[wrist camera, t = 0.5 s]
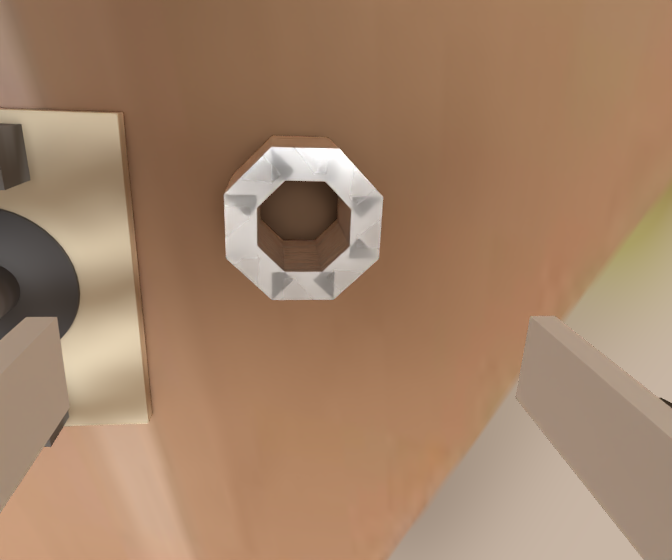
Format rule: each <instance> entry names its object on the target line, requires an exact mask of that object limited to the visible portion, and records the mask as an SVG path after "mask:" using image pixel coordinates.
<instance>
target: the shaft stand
mask: <svg viewBox="0 0 672 560" xmlns="http://www.w3.org/2000/svg"><path fill="white" fill-rule="evenodd" d="M26 317H57V320H58V327H59V334H60V341H61V348H62V355H63V362H64V370H65V377H66V384H67V391H68V398H69V405H70V408H69V409H68V411H67V412H66V414H65V415H64V417H63V418H62V420H61V422H60V423H59V425H58V426H57V428H56V429H55V431H54V432H53V434H52V435H51V437H50V438H49V440H48V441H47V443H46V444H45V446H44V447H51V446H52V444H53V443H54V441H55V439H56V438H57V436H58V435H59V433H60V431H61V430H62V428H63V426H88V425H120V424H149V421H150V418H151V415H152V405H151V394H150V384H149V374H148V364H147V353H146V343H145V333H144V322H143V312H142V302H141V292H140V281H139V271H138V261H137V250H136V240H135V230H134V220H133V209H132V199H131V189H130V178H129V168H128V158H127V148H126V137H125V127H124V117H123V112H94V111H65V110H36V109H7V108H0V340H1V339H2V338H3V337H4V336H5V335H6V334H8V333H9V332H10V331H11V330H12V329H13V328H14V327H15V326H17V325H18V324H19V323H20V322H21V321H22V320H23V319H24V318H26Z"/></svg>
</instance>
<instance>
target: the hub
mask: <svg viewBox="0 0 672 560" xmlns="http://www.w3.org/2000/svg"><path fill="white" fill-rule="evenodd" d="M285 180H287V181H325V182H326V183H327V184H328V185H329V186H330V187H331V188H332V189H333V190H334V191H335V192H336V193H337V194H338V208H337V220H335V221H334V222H333V223H332V224H331V225H330V226H329V227H328V228H327V229H326V230H325V231H324V232H323V233H322V234H320V235H319V236H318V237H317V238H316V239H315V240H282V239H281V238H280V237H279V236H278V235H277V234H276V233H275V232H274V231H273V230H272V229H271V228H270V227H269V226H268V225H267V224H266V223H265V222H264V221H263V220H262V219H261V218H260V204H261V203H262V202H263V201H264V200H265V199H267V198H268V197H269V196H270V195H271V194H272V193H273V192H274V191H275V190H276V189H277V188H278V187H279V186H280V185H281V184H282V183H283V182H284V181H285ZM382 207H383V196H382V195H381V194H380V193H379V192H378V191H377V190H376V189H375V187H374V186H373V185H372V184H371V183H370V182H369V181H368V180H367V179H366V178H365V176H364V175H363V174H362V173H361V172H360V171H359V170H358V169H357V168H356V166H355V165H354V164H353V163H352V162H351V161H350V160H349V159H348V158H347V156H346V155H345V154H344V153H343V152H342V151H341V150H340V149H339V148H338V147H337V146H336V145H335V144H334V143H333V142H332V141H331V140H330V139H329V137H310V136H277V135H272V136H271V137H270V138H269V139H268V140H267V141H266V142H265V143H264V144H263V145H262V146H261V147H260V148H259V149H258V150H257V151H256V152H255V153H254V154H253V155H252V156H251V157H250V158H249V159H248V160H247V161H246V162H245V163H244V164H243V165H242V166H241V167H240V168H239V169H238V170H237V171H236V172H235V173H234V174H233V175H232V177H231V180H230V182H229V184H228V186H227V188H226V190H225V193H224V215H225V244H226V259H227V260H229V261H230V262H231V263H232V264H233V265H234V266H235V267H236V268H237V269H238V270H240V271H241V272H242V273H243V274H244V275H245V276H246V277H247V278H248V279H249V280H251V281H252V282H253V283H254V284H255V285H256V286H257V287H258V288H259V289H260V290H262V291H263V292H264V293H265V294H266V295H267V296H268V297H269V298H270V299H271V300H334V299H335V298H336V297H337V296H338V295H339V294H340V293H341V292H342V291H344V290H345V289H346V288H347V287H348V286H349V285H350V284H351V283H352V282H354V281H355V280H356V279H357V278H358V277H359V276H360V275H361V274H362V273H364V272H365V271H366V270H367V269H368V268H369V267H370V266H371V265H372V264H374V263H375V262H376V261H377V260H378V259H379V249H380V235H381V221H382Z"/></svg>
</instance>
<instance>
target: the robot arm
mask: <svg viewBox="0 0 672 560" xmlns="http://www.w3.org/2000/svg"><path fill="white" fill-rule="evenodd" d="M516 399H517V400H518V402H519V403H520V404H521V406H522V407H523V408H524V409H525V411H526V412H527V413H528V414H529V416H530V417H531V418H532V419H533V421H534V422H535V423H536V424H537V426H538V427H539V428H540V429H541V431H542V432H543V433H544V434H545V436H546V437H547V438H548V439H549V441H550V442H551V443H552V445H553V446H554V447H555V448H556V449H557V451H558V452H559V453H560V455H561V456H562V457H563V459H564V460H565V461H566V462H567V464H568V465H569V466H570V467H571V469H572V470H573V471H574V472H575V474H576V475H577V476H578V477H579V479H580V480H581V481H582V482H583V484H584V485H585V486H586V487H587V489H588V490H589V491H590V492H591V494H592V495H593V496H594V498H595V499H596V500H597V501H598V503H599V504H600V505H601V506H602V508H603V509H604V510H605V511H606V513H607V514H608V515H609V517H610V518H611V519H612V520H613V522H614V523H615V524H616V525H617V527H618V528H619V529H620V530H621V532H622V533H623V534H624V535H625V537H626V538H627V539H628V540H629V542H630V543H631V544H632V546H633V547H634V548H635V549H636V551H637V552H638V553H639V554H640V556H641V557H642V558H643V559H644V560H672V403H670V402H668V401H666V400H664V399H662V398H658V397H657V396H656V395H654V394H653V393H652V392H651V391H649V390H648V389H647V388H646V387H644V386H643V385H642V384H640V383H639V382H638V381H637V380H635V379H634V378H633V377H632V376H630V375H629V374H628V373H627V372H625V371H624V370H623V369H621V368H620V367H619V366H618V365H616V364H615V363H614V362H613V361H611V360H610V359H609V358H607V357H606V356H605V355H604V354H602V353H601V352H600V351H599V350H597V349H596V348H595V347H594V346H592V345H591V344H590V343H589V342H587V341H586V340H585V339H583V338H582V337H581V336H580V335H578V334H577V333H576V332H575V331H573V330H572V329H571V328H570V327H568V326H567V325H566V324H565V323H563V322H562V321H561V320H559V319H558V318H557V317H556V316H530V320H529V326H528V332H527V337H526V343H525V348H524V354H523V359H522V365H521V370H520V376H519V381H518V387H517V393H516ZM69 408H70V405H69V398H68V391H67V384H66V377H65V370H64V362H63V355H62V348H61V341H60V334H59V327H58V320H57V317H26V318H24V319H23V320H22V321H21V322H20V323H19V324H18V325H17V326H15V327H14V328H13V329H12V330H11V331H10V332H9V333H8V334H6V335H5V336H4V337H3V338H2V339H1V340H0V513H1V511H2V510H3V508H4V507H5V505H6V504H7V502H8V500H9V499H10V497H11V496H12V494H13V493H14V491H15V490H16V488H17V487H18V485H19V484H20V482H21V481H22V479H23V478H24V476H25V475H26V473H27V472H28V470H29V469H30V467H31V466H32V464H33V463H34V461H35V459H36V458H37V456H38V455H39V453H40V452H41V450H42V449H43V447H44V446H45V444H46V443H47V441H48V440H49V438H50V437H51V435H52V434H53V432H54V431H55V429H56V428H57V426H58V425H59V423H60V422H61V420H62V418H63V417H64V415H65V414H66V412H67V411H68V409H69Z"/></svg>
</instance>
